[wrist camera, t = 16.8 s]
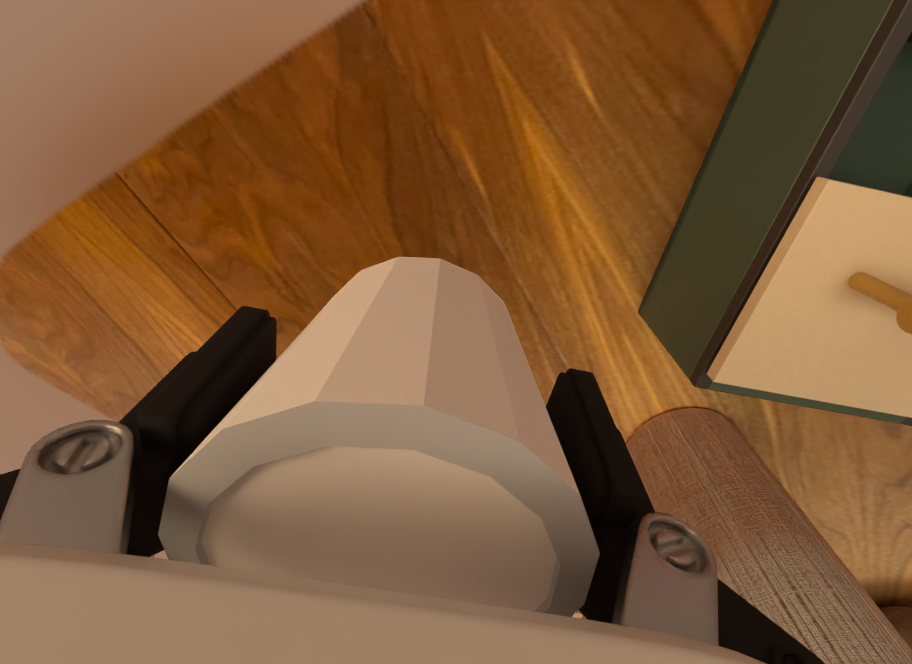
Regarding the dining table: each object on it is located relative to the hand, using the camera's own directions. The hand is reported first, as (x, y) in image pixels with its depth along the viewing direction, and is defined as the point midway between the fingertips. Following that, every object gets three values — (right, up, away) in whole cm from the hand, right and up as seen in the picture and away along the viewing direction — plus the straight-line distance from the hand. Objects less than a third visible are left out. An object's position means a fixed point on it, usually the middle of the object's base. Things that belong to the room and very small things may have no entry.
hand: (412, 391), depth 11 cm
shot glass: (0, +1, +2) cm, 2 cm away
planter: (+21, -9, +29) cm, 37 cm away
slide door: (+22, +3, +11) cm, 25 cm away
